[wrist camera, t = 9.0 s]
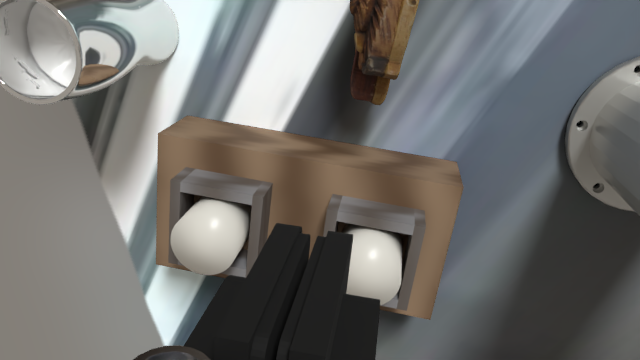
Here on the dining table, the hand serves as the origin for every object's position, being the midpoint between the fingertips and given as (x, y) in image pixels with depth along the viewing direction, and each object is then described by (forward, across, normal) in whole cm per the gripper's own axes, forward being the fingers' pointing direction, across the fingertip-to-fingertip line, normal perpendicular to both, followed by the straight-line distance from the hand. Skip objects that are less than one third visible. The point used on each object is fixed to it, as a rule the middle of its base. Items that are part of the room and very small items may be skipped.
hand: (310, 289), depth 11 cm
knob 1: (+28, +11, +13) cm, 33 cm away
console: (+34, +5, +13) cm, 37 cm away
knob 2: (+28, -1, +13) cm, 31 cm away
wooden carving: (+34, 0, -6) cm, 35 cm away
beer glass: (+34, +20, -1) cm, 40 cm away
